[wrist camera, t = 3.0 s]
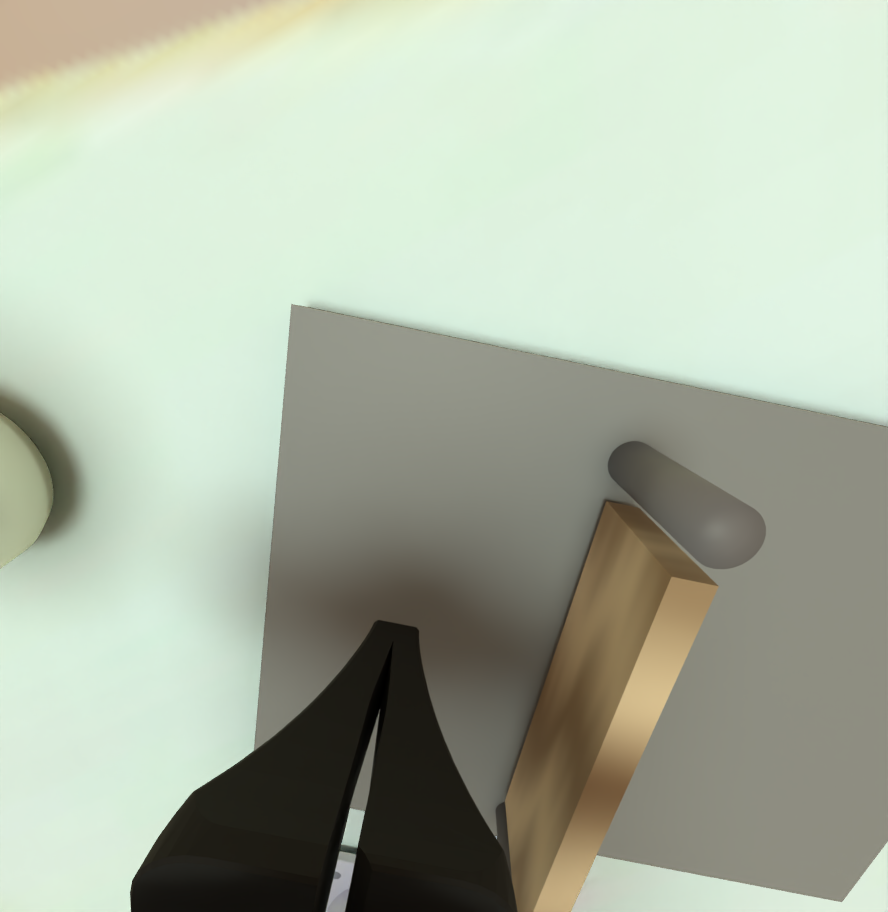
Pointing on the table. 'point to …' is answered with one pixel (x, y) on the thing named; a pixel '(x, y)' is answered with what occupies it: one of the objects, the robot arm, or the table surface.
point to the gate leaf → (600, 702)
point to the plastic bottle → (21, 491)
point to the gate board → (559, 570)
